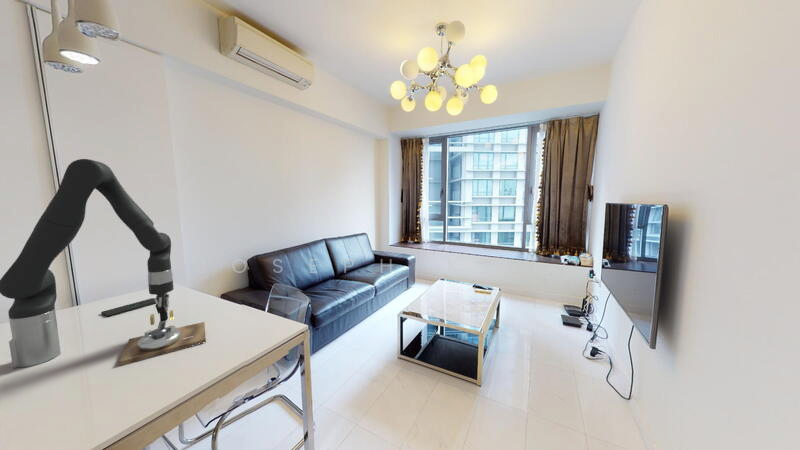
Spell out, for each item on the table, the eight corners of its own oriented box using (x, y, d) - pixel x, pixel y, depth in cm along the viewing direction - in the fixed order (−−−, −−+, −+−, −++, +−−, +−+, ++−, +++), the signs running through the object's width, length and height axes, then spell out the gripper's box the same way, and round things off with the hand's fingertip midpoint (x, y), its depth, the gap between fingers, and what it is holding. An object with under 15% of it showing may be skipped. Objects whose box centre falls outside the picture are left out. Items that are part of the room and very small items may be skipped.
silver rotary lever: (135, 355, 92) (133, 336, 91) (144, 332, 107) (142, 316, 106) (179, 343, 99) (178, 326, 98) (181, 324, 114) (180, 308, 114)
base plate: (119, 365, 89) (118, 361, 88) (129, 342, 103) (129, 338, 102) (205, 342, 104) (205, 338, 103) (204, 324, 118) (204, 321, 117)
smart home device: (160, 300, 141) (107, 315, 123) (160, 303, 141) (108, 318, 123) (152, 297, 144) (100, 311, 126) (153, 300, 144) (100, 314, 126)
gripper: (151, 278, 110) (155, 316, 112) (144, 287, 99) (148, 329, 101) (174, 275, 114) (177, 312, 116) (170, 283, 103) (173, 324, 105)
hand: (164, 320), depth 108 cm, fingers closed
